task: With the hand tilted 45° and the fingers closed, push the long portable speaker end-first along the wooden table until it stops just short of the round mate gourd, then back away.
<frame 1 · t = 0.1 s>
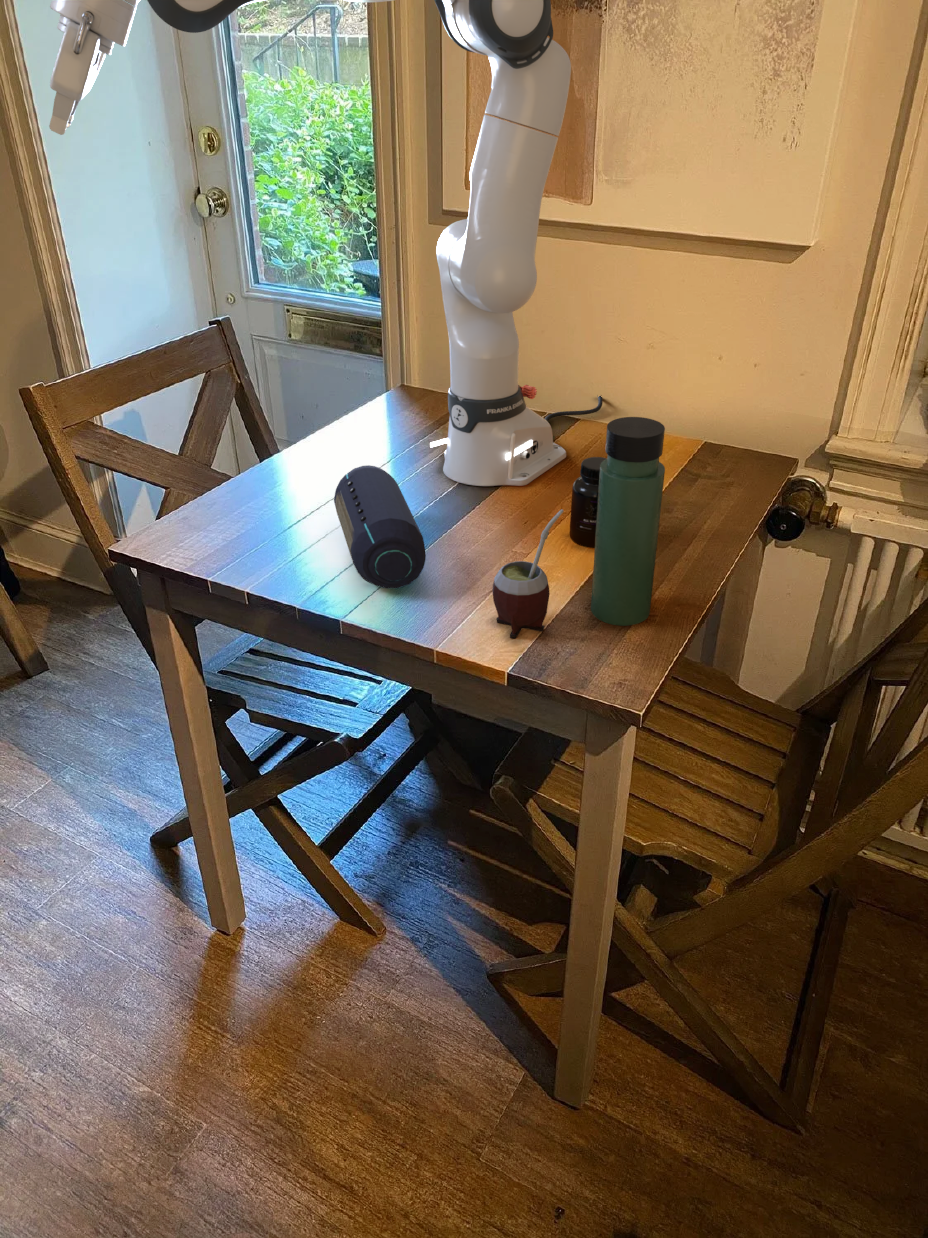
hand: (59, 128, 118), 54 cm above the table, tool tilted 30°, fingers open, 8 cm apart
portable speaker: (380, 556, 136), on the table
thermos: (620, 609, 122), on the table
supplement bottle: (592, 539, 139), on the table
mate gourd: (522, 625, 120), on the table
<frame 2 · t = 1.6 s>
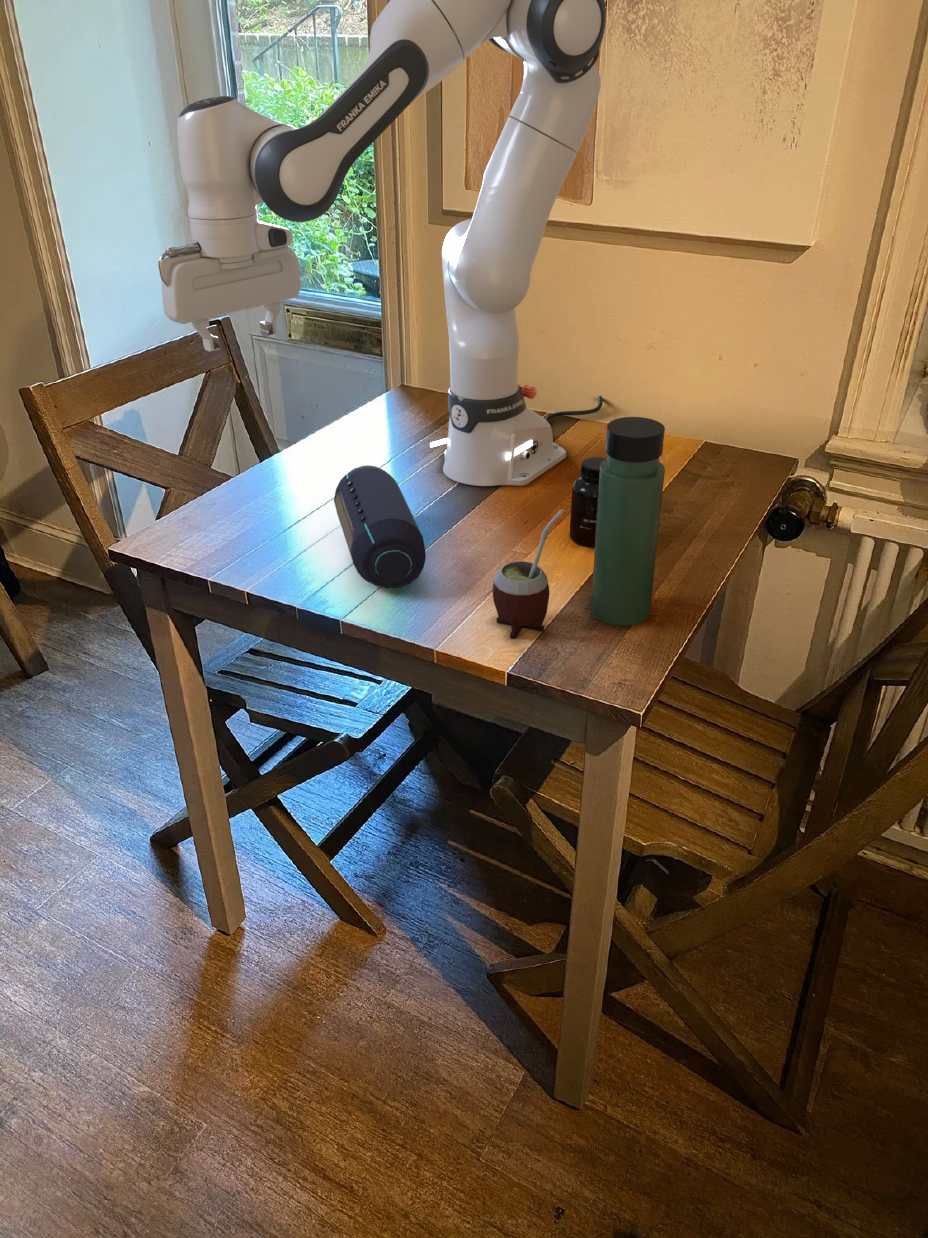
hand: (241, 342, 132), 27 cm above the table, tool pointing down, fingers open, 8 cm apart
nothing on the table moved.
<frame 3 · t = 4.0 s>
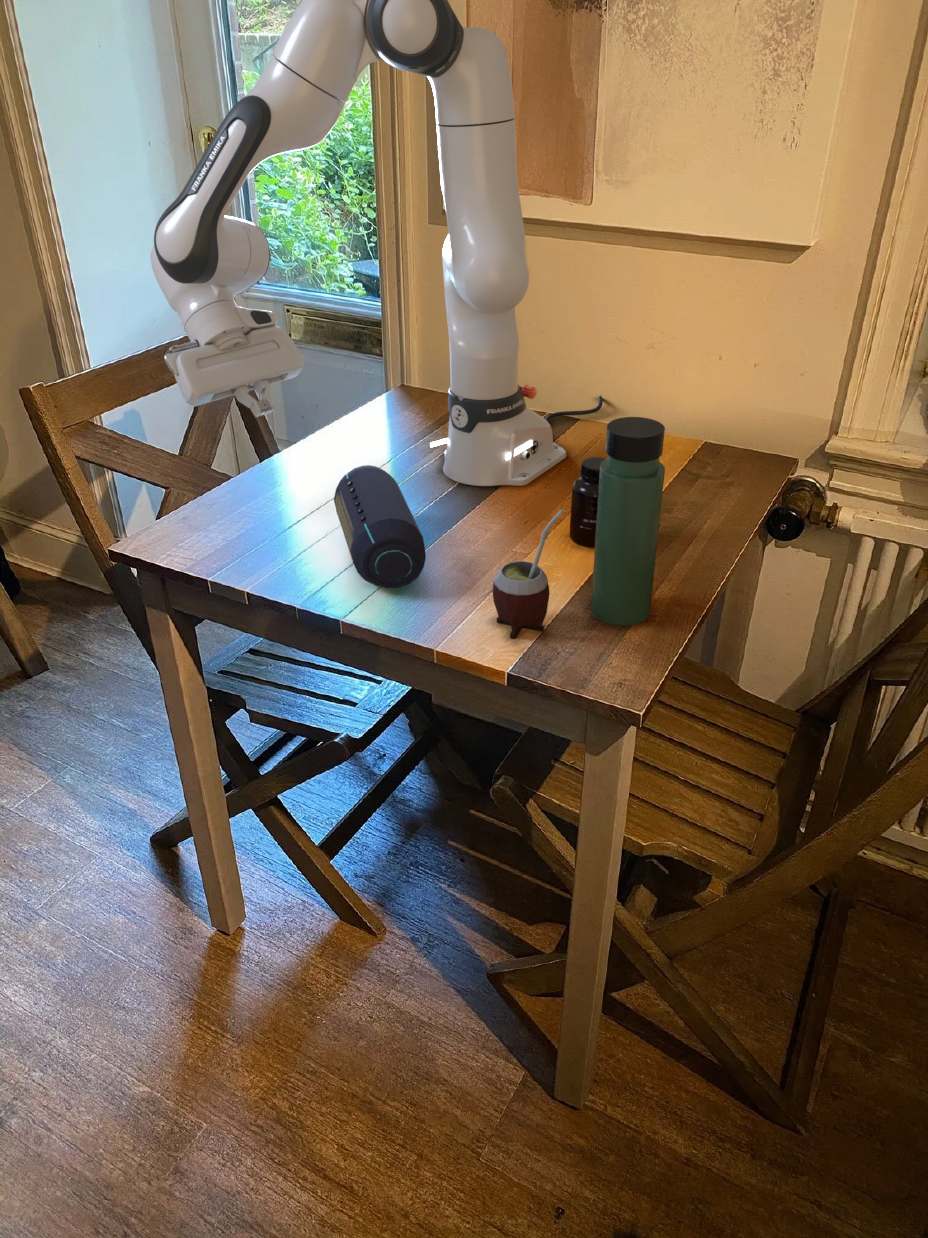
hand: (265, 412, 142), 15 cm above the table, tool tilted 45°, fingers closed
nothing on the table moved.
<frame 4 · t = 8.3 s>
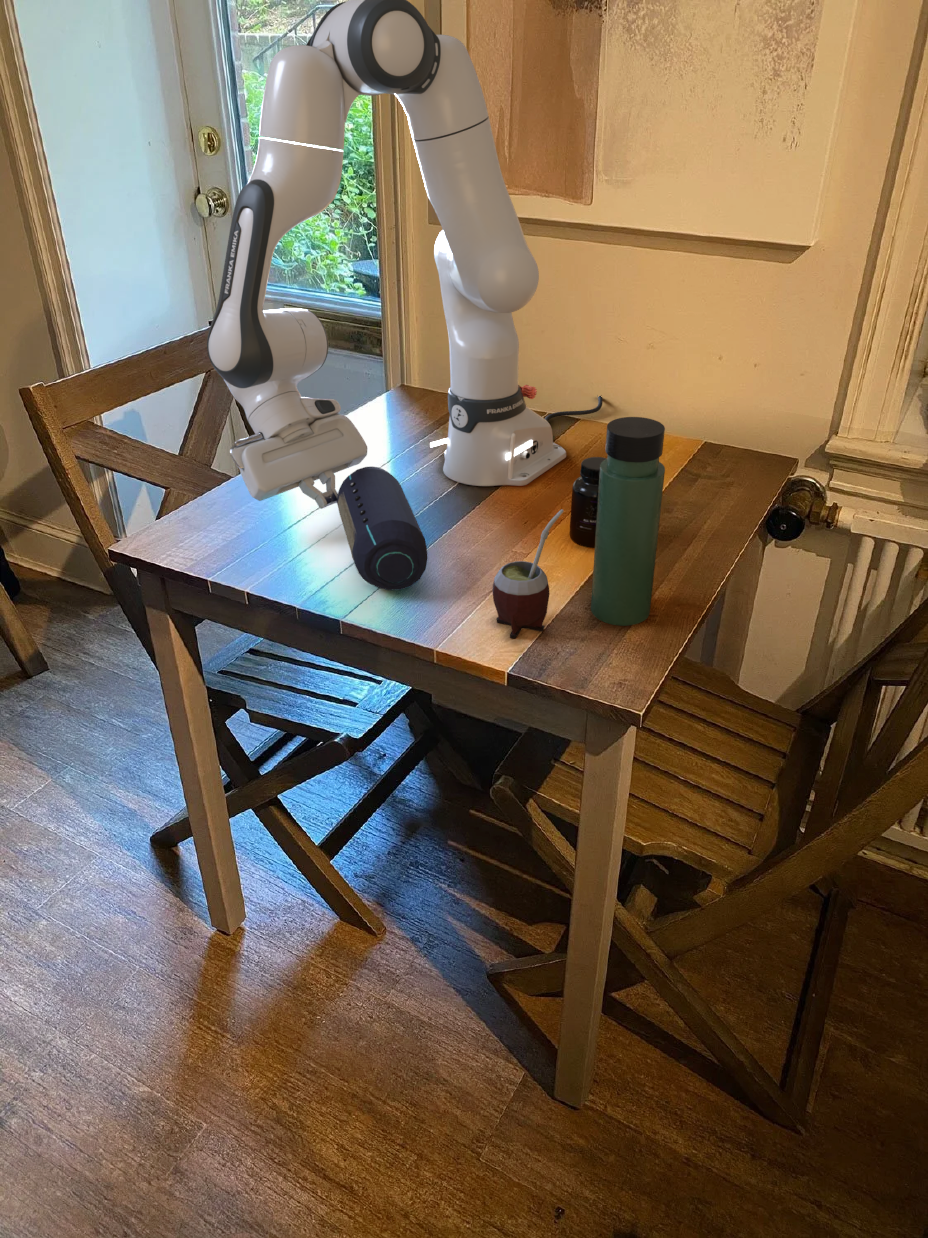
hand: (330, 504, 140), 5 cm above the table, tool tilted 45°, fingers closed
portable speaker: (382, 557, 135), on the table, touching gripper
everything else where it was.
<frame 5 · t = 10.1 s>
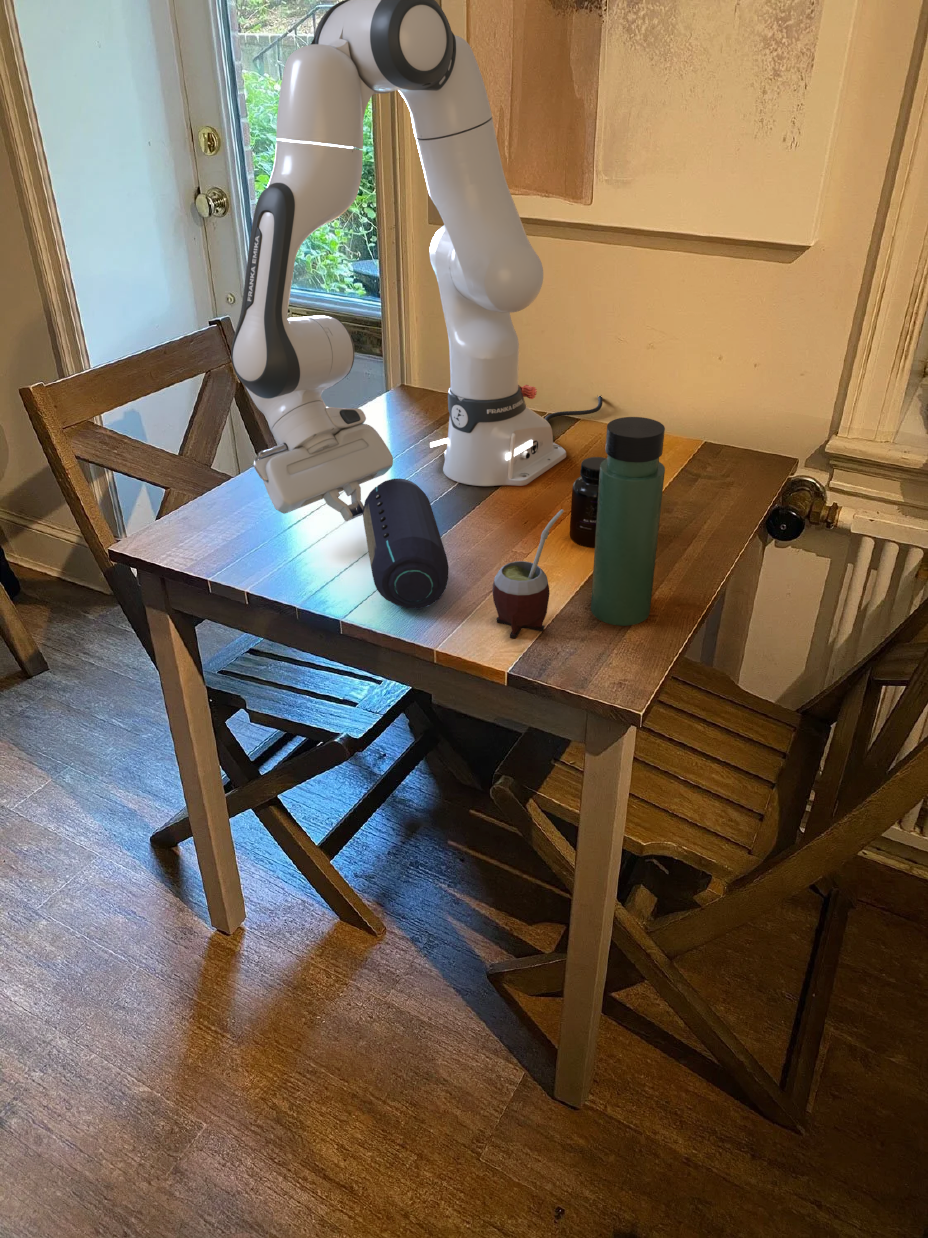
hand: (356, 516, 136), 5 cm above the table, tool tilted 45°, fingers closed
portable speaker: (405, 573, 131), on the table, touching gripper
everything else where it was.
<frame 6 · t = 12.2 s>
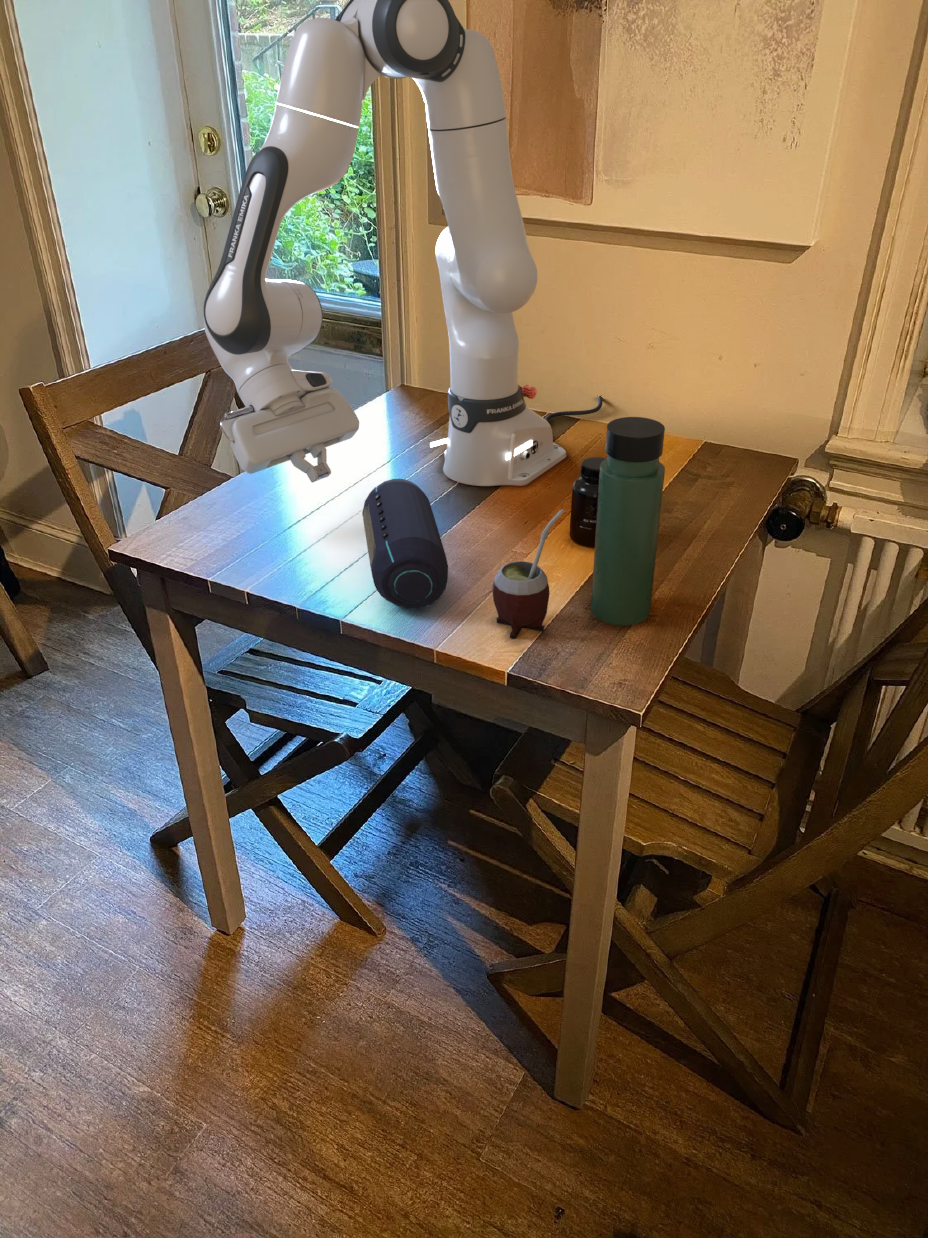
hand: (322, 477, 138), 8 cm above the table, tool tilted 45°, fingers closed
portable speaker: (405, 573, 131), on the table
everything else where it was.
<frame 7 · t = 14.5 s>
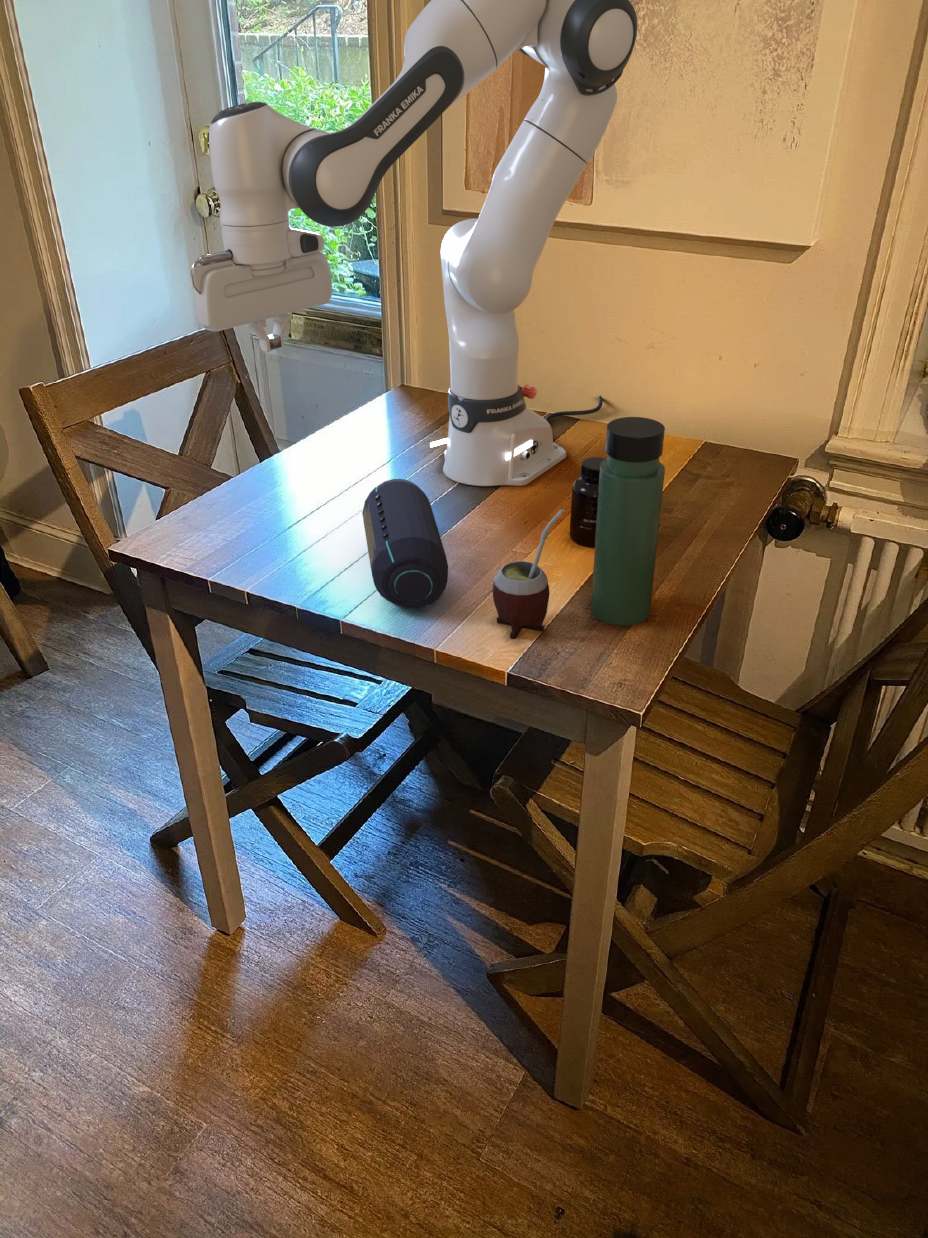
hand: (272, 349, 131), 27 cm above the table, tool pointing down, fingers closed
nothing on the table moved.
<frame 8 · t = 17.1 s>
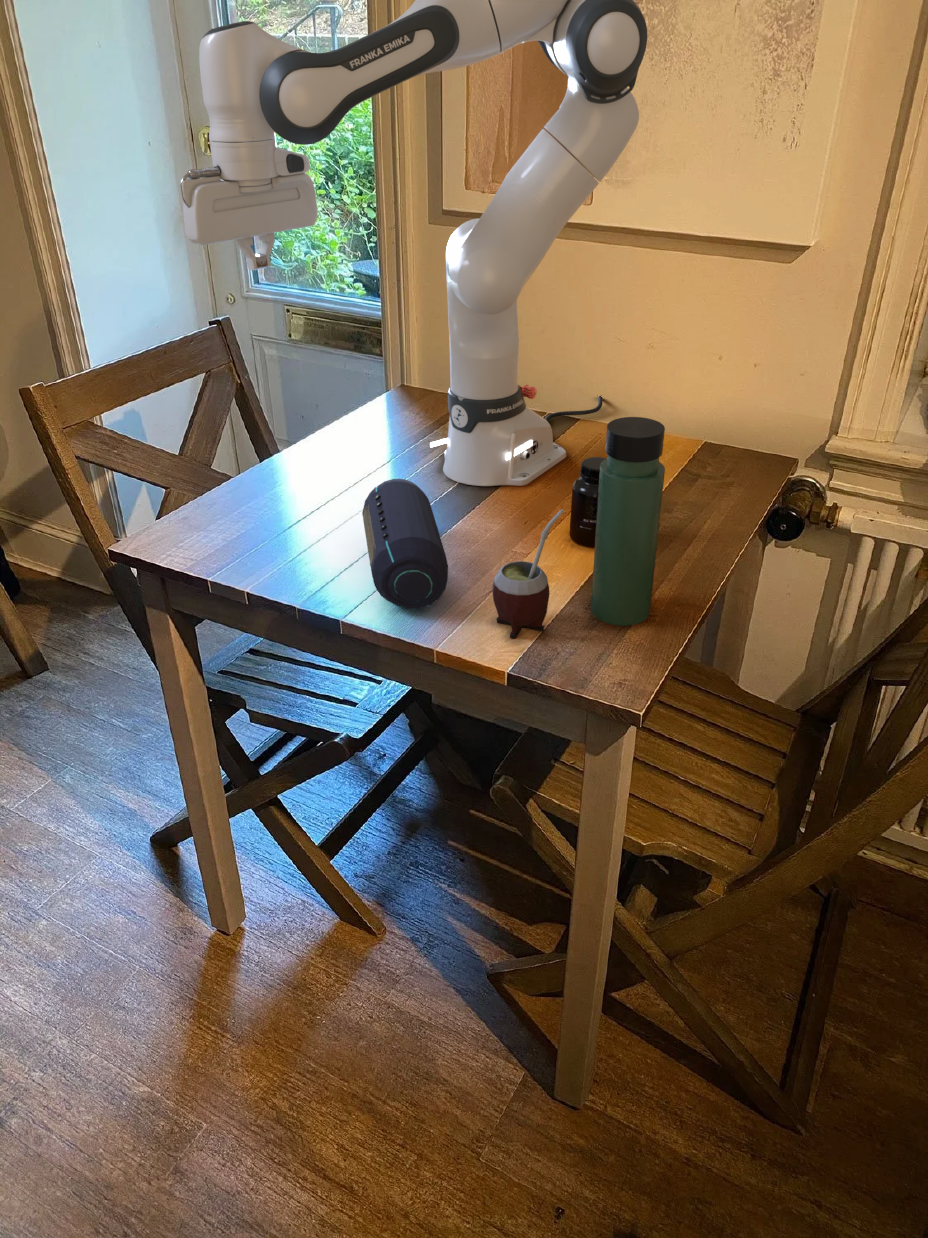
hand: (259, 268, 136), 35 cm above the table, tool pointing down, fingers closed
nothing on the table moved.
at the end: portable speaker inside the target area (2.7 cm from its centre), on the table; portable speaker tilted 0°; mate gourd moved 0.2 cm from its start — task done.
